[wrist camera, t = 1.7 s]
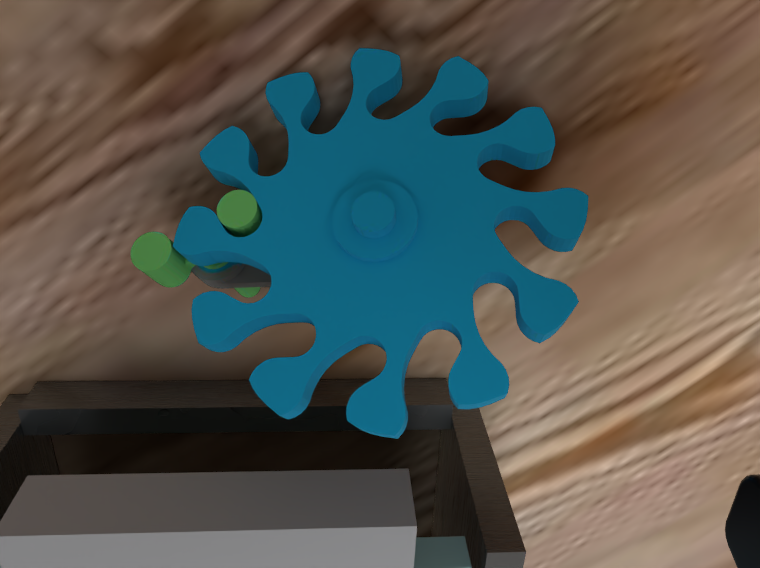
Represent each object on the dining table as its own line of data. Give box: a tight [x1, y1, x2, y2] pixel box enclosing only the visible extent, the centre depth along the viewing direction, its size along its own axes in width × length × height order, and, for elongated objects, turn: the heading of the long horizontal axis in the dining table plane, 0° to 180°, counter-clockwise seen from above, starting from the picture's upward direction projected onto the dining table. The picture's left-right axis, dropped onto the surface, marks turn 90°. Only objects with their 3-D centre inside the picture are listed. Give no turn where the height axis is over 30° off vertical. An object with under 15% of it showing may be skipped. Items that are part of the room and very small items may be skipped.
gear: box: [131, 48, 588, 439], centre depth 18 cm, size 11×6×10 cm
